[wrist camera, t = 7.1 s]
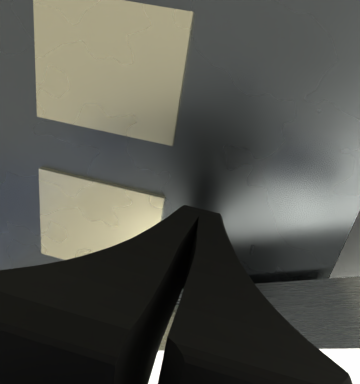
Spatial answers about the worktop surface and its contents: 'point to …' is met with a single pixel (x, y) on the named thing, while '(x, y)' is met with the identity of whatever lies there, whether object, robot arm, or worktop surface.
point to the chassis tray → (180, 126)
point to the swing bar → (311, 318)
